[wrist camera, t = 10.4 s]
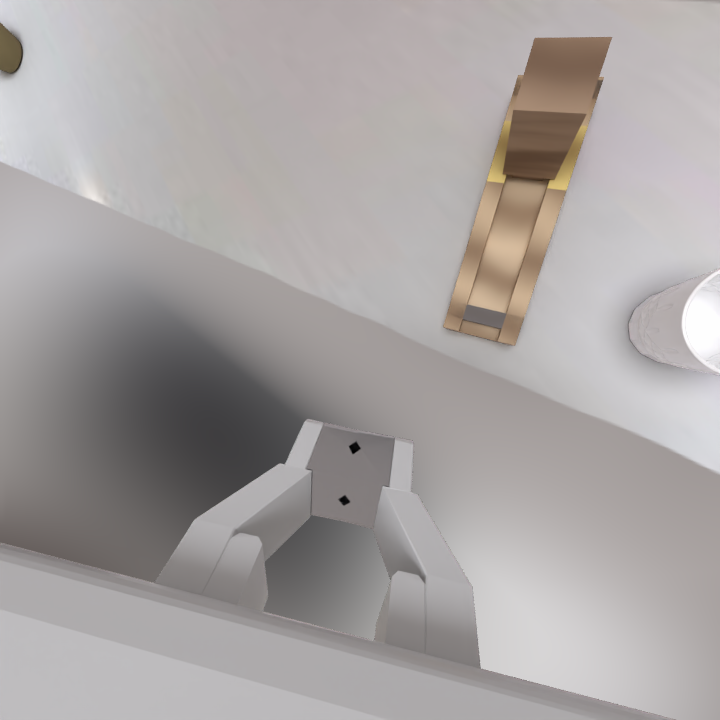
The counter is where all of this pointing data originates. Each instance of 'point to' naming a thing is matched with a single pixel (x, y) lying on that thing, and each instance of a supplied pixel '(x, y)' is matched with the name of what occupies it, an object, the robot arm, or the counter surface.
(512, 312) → the beam
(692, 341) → the white cup
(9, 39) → the squeeze bottle
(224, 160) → the counter surface
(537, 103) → the plate
